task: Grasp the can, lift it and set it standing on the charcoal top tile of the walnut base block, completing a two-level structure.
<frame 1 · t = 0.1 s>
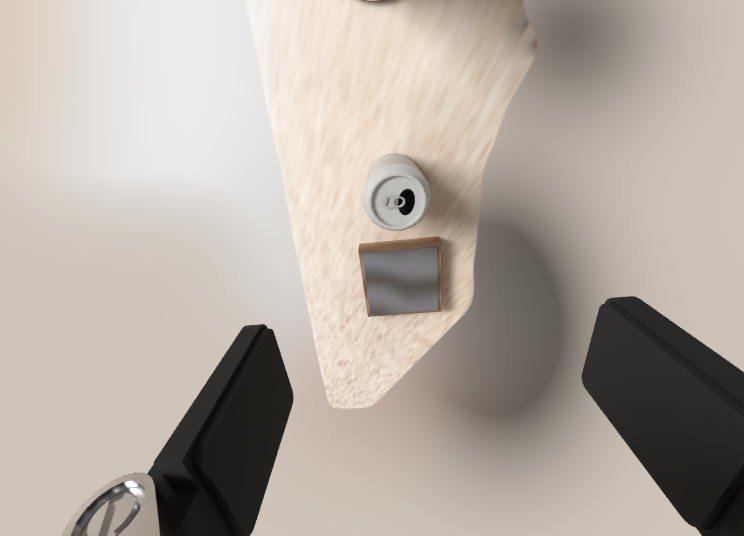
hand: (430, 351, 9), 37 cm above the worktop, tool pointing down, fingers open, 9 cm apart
can: (393, 180, 43), on the worktop
plinth: (400, 273, 50), on the worktop
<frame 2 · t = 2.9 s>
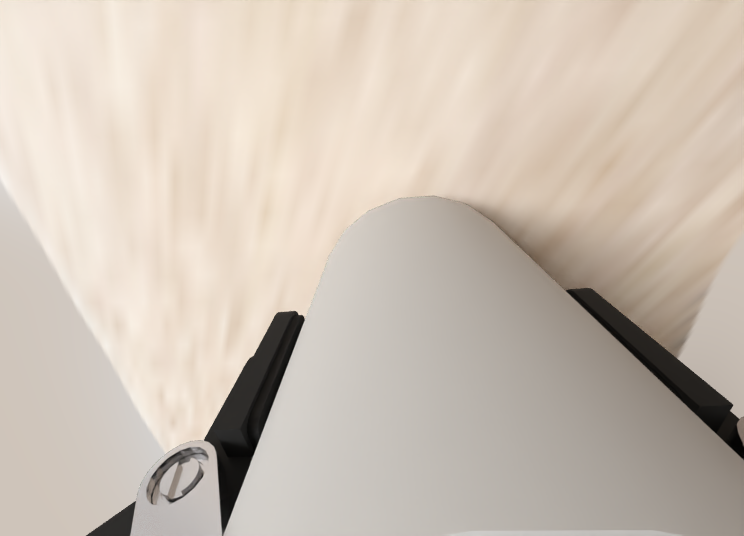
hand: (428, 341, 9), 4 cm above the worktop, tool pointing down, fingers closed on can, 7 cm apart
can: (415, 276, 13), on the worktop, touching gripper
when the fingers open (7 cm above the worktop, at t = 11.4 s): can stays where it is, resting on plinth.
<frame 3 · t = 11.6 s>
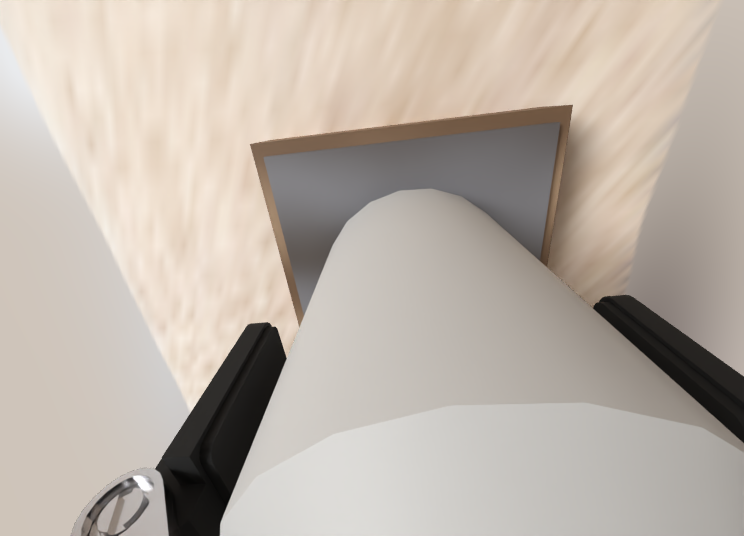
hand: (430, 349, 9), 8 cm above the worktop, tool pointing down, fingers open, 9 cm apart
can: (413, 266, 14), point 2 cm above the worktop, touching plinth
plinth: (408, 244, 17), on the worktop, touching can
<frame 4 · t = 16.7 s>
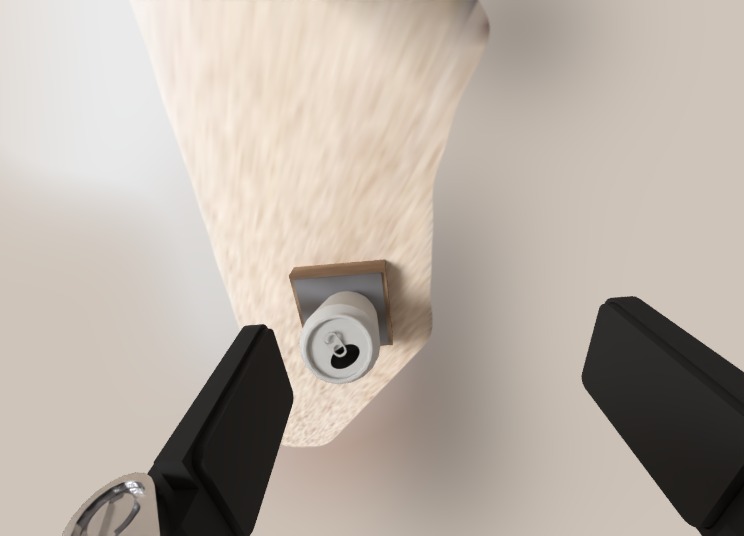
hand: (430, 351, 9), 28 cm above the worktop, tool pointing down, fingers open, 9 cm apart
can: (348, 319, 38), point 4 cm above the worktop, touching plinth
plinth: (346, 299, 43), on the worktop, touching can
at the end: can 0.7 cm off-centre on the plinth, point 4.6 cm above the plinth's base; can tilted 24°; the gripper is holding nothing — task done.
